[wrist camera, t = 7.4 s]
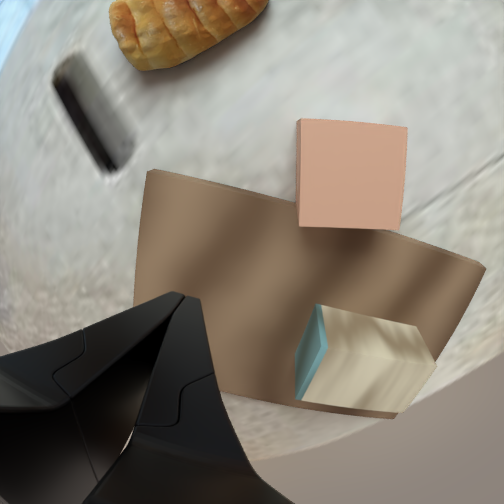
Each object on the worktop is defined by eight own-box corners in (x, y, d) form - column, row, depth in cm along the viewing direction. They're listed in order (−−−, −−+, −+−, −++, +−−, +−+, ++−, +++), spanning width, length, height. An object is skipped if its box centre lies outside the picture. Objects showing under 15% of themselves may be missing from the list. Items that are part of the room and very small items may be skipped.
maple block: (315, 303, 21) (416, 326, 21) (294, 354, 22) (389, 371, 22) (321, 346, 16) (437, 366, 16) (295, 399, 18) (402, 413, 18)
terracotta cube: (377, 126, 17) (407, 127, 13) (373, 205, 19) (399, 230, 14) (296, 121, 18) (301, 118, 13) (295, 202, 20) (299, 226, 15)
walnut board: (478, 262, 19) (486, 268, 18) (391, 410, 26) (393, 419, 24) (154, 168, 19) (146, 171, 18) (137, 355, 26) (132, 363, 24)
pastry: (249, -46, 13) (242, -74, 10) (285, 32, 16) (285, 12, 12) (120, 7, 15) (92, -8, 12) (145, 85, 18) (117, 79, 14)
